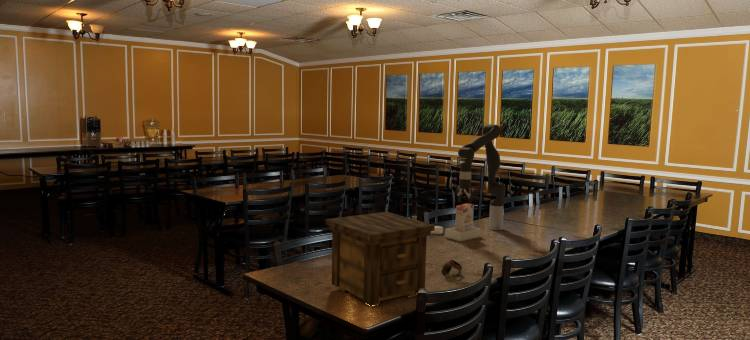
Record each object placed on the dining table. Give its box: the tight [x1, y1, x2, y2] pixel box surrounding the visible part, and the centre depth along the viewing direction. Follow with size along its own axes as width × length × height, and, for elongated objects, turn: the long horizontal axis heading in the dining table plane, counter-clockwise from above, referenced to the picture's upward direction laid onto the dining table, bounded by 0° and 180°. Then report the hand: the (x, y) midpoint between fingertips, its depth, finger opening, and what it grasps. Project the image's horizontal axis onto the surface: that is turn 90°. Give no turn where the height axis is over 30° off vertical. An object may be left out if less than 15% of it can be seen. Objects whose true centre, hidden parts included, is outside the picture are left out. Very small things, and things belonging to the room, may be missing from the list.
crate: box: [324, 211, 436, 306], centre depth 237 cm, size 35×35×33 cm
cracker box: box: [454, 203, 474, 232], centre depth 344 cm, size 14×6×21 cm, turn 143°
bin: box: [444, 226, 482, 242], centre depth 345 cm, size 13×21×6 cm, turn 129°
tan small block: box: [431, 225, 444, 235], centre depth 357 cm, size 8×8×4 cm
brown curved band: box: [441, 259, 463, 276], centre depth 267 cm, size 12×9×8 cm
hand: (464, 202), depth 343 cm, fingers open, 8 cm apart
